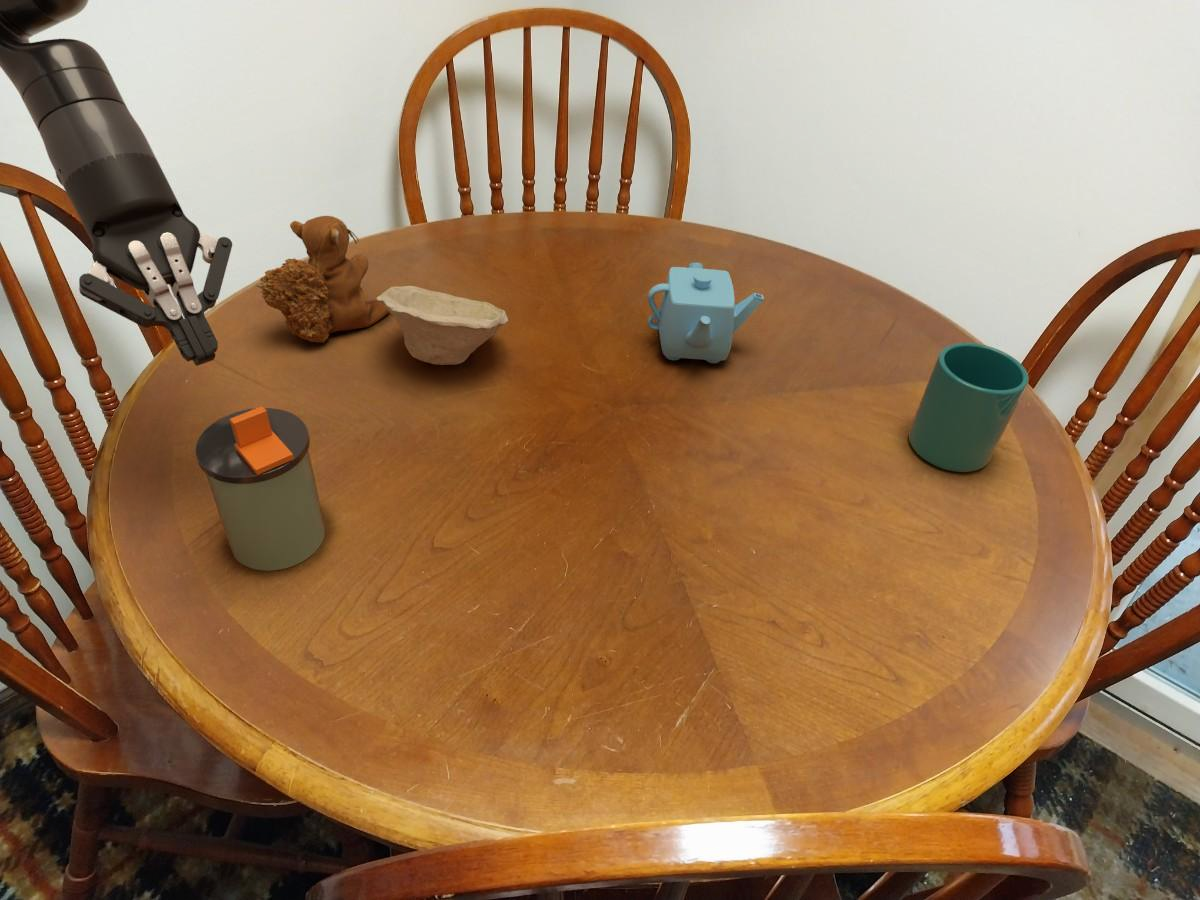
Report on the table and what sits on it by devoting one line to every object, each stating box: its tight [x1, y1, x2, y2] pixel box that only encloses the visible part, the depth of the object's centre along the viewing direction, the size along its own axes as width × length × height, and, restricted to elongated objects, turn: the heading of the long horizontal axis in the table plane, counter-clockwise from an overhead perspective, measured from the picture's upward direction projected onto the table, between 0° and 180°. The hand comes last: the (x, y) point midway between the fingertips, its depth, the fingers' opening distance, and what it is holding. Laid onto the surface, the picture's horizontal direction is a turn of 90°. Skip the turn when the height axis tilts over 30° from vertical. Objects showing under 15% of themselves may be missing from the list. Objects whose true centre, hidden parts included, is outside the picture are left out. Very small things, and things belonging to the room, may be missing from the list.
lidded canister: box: [194, 407, 326, 572], centre depth 75 cm, size 9×9×12 cm
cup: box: [908, 342, 1029, 473], centre depth 93 cm, size 9×12×11 cm
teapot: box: [647, 261, 765, 364], centre depth 104 cm, size 18×14×10 cm
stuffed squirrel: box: [255, 215, 390, 344], centre depth 102 cm, size 10×14×13 cm
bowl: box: [376, 285, 509, 366], centre depth 99 cm, size 15×14×10 cm
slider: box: [230, 405, 294, 475], centre depth 69 cm, size 4×3×3 cm
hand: (206, 360), depth 72 cm, fingers closed
